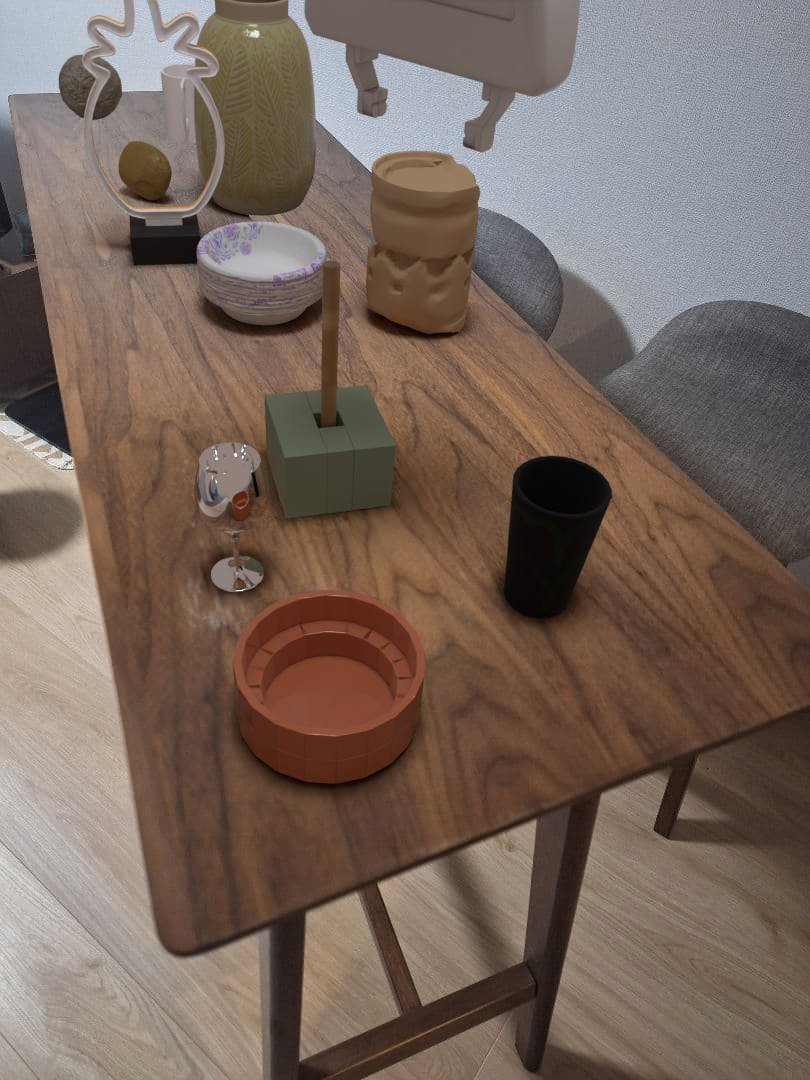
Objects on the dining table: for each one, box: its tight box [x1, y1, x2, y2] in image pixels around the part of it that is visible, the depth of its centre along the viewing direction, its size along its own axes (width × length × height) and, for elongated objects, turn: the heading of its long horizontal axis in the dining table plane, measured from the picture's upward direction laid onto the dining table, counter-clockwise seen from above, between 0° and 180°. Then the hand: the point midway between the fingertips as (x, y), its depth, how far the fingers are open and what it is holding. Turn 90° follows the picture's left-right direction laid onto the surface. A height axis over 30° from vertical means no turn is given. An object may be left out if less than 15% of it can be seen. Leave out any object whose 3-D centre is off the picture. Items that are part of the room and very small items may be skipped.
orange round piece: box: [232, 589, 426, 784], centre depth 65 cm, size 13×13×6 cm
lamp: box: [82, 0, 225, 266], centre depth 112 cm, size 17×9×32 cm, turn 103°
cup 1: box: [160, 63, 196, 144], centre depth 152 cm, size 8×12×10 cm
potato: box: [117, 140, 173, 201], centre depth 132 cm, size 7×8×8 cm
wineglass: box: [193, 441, 270, 593], centre depth 73 cm, size 6×6×12 cm
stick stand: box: [264, 385, 397, 520], centre depth 86 cm, size 10×10×7 cm
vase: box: [193, 0, 317, 217], centre depth 129 cm, size 17×17×27 cm
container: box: [365, 150, 481, 335], centre depth 108 cm, size 13×13×18 cm
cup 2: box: [503, 455, 613, 619], centre depth 74 cm, size 8×8×12 cm
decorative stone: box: [58, 54, 123, 121], centre depth 155 cm, size 10×8×10 cm
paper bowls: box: [196, 221, 328, 326], centre depth 110 cm, size 15×15×8 cm
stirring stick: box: [320, 260, 341, 428], centre depth 81 cm, size 1×1×22 cm
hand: (422, 131), depth 66 cm, fingers open, 8 cm apart
